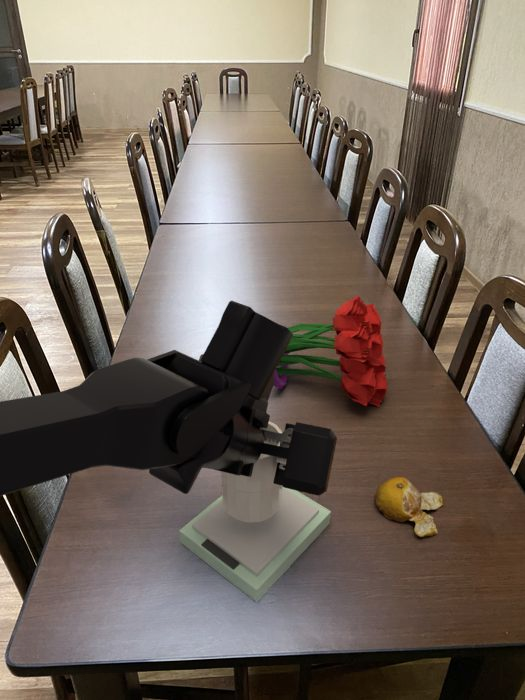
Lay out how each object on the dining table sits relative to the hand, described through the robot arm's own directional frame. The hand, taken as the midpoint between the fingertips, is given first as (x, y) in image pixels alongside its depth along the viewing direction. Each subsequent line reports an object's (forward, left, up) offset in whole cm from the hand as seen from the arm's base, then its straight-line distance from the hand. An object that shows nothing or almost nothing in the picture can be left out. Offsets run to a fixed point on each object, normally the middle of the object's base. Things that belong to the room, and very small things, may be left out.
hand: (256, 449), depth 60 cm
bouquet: (+26, +14, -12) cm, 32 cm away
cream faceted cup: (-1, -1, -7) cm, 7 cm away
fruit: (+14, -14, -12) cm, 23 cm away
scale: (-1, -1, -12) cm, 12 cm away
